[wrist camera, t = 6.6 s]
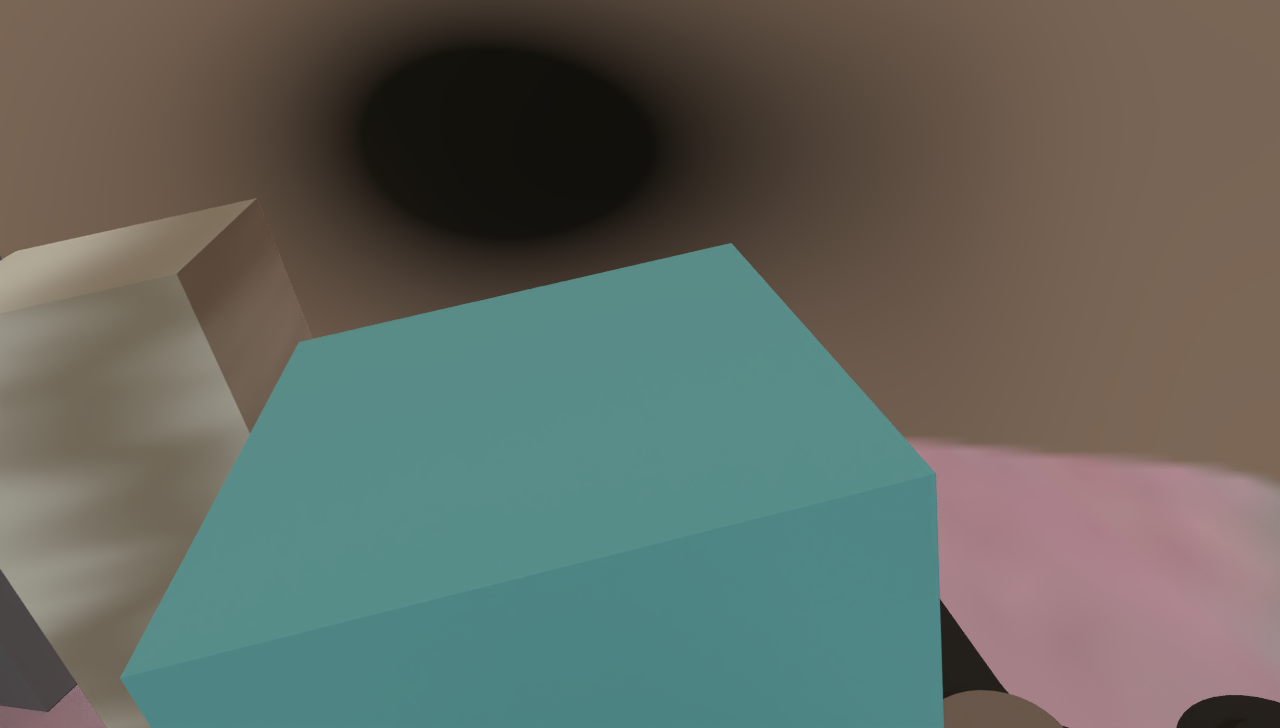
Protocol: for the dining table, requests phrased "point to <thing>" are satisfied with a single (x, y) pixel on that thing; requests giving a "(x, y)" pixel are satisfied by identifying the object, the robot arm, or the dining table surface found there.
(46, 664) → the charcoal block
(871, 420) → the teal block
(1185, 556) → the dining table surface
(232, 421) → the tan block
